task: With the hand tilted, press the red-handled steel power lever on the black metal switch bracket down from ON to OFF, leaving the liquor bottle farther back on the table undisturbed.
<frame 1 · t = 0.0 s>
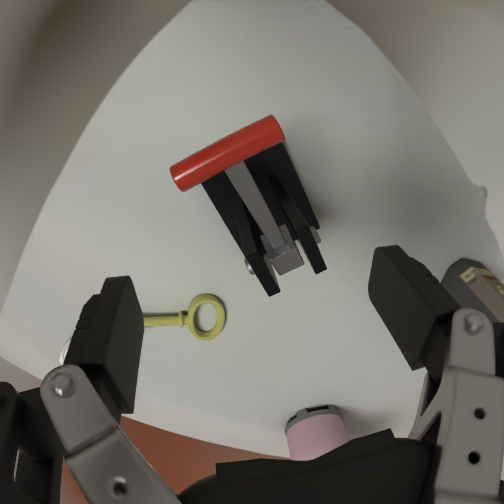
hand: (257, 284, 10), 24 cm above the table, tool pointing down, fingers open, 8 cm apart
switch bracket: (260, 198, 35), on the table
liquor: (456, 280, 47), on the table
blender: (310, 422, 62), on the table
key: (181, 314, 42), on the table
lever: (261, 213, 21), point 13 cm above the table, hinge at 25.0°
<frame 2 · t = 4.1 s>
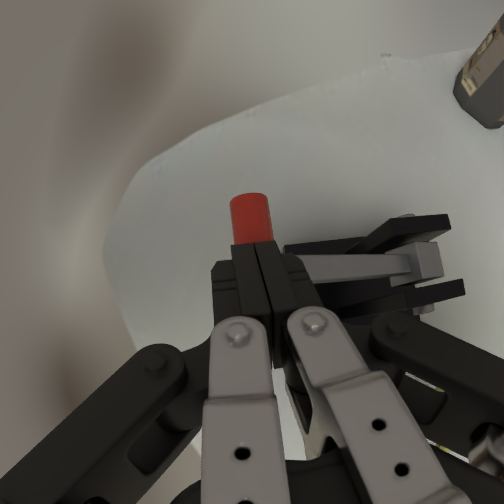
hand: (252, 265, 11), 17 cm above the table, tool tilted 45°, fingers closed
switch bracket: (353, 289, 29), on the table
liquor: (475, 103, 37), on the table
lever: (360, 267, 15), point 13 cm above the table, hinge at 24.5°, touching gripper
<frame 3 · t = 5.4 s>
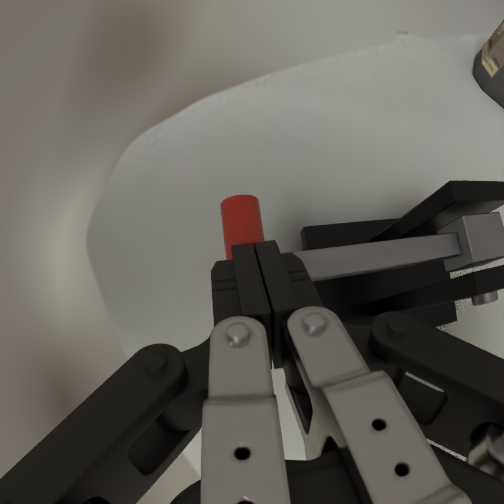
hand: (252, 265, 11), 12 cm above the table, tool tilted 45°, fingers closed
switch bracket: (382, 280, 24), on the table
liquor: (495, 87, 32), on the table
lever: (386, 255, 13), point 11 cm above the table, hinge at -2.6°, touching gripper
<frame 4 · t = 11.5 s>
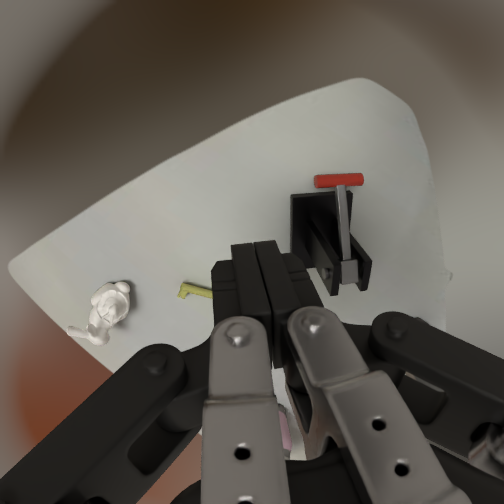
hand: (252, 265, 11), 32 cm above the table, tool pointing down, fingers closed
switch bracket: (319, 229, 48), on the table
rabbit figurine: (105, 296, 50), on the table
blender: (256, 416, 74), on the table
key: (219, 292, 52), on the table
lever: (343, 228, 38), point 9 cm above the table, hinge at -24.6°
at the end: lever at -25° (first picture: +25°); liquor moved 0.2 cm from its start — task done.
